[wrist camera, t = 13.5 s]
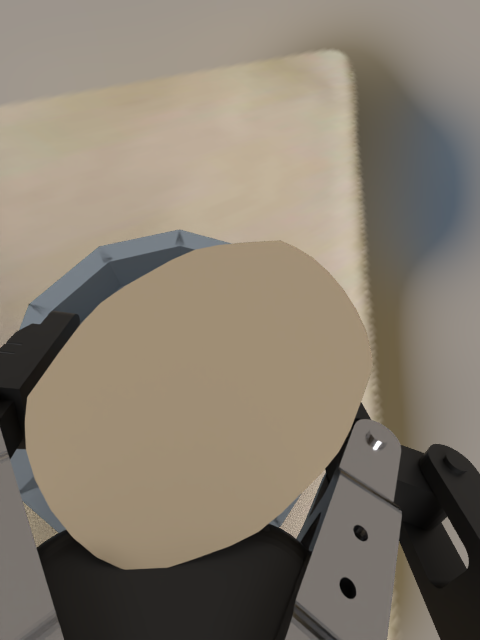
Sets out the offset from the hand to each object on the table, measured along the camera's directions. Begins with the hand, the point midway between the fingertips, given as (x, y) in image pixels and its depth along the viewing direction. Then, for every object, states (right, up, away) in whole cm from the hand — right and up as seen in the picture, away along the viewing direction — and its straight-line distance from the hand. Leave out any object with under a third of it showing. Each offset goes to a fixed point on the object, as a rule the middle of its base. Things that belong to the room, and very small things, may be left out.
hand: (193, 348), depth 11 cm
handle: (-2, -3, +9) cm, 10 cm away
